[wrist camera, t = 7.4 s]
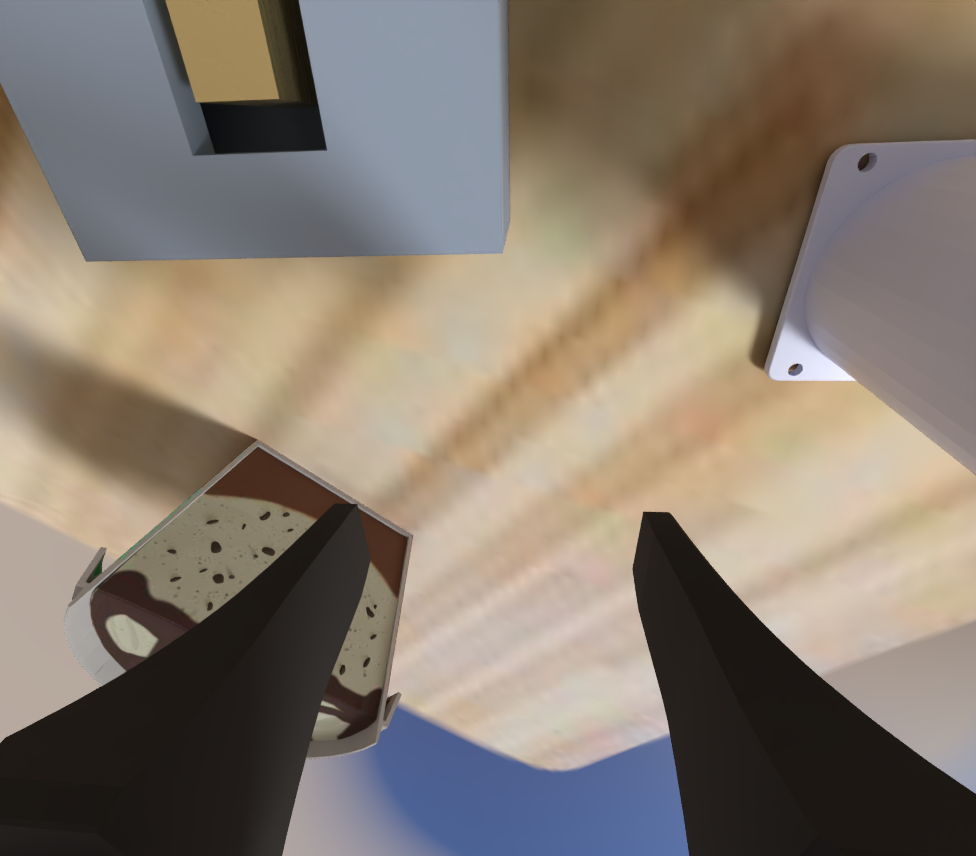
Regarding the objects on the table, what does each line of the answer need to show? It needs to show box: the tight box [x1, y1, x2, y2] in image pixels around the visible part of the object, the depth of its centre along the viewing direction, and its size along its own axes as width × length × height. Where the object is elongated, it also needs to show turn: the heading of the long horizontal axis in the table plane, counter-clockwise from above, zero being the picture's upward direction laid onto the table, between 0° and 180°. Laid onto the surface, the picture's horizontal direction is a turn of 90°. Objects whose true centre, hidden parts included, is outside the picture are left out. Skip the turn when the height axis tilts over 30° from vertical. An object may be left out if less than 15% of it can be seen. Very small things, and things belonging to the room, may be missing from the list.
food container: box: [64, 440, 413, 759], centre depth 22 cm, size 12×6×10 cm, turn 50°
